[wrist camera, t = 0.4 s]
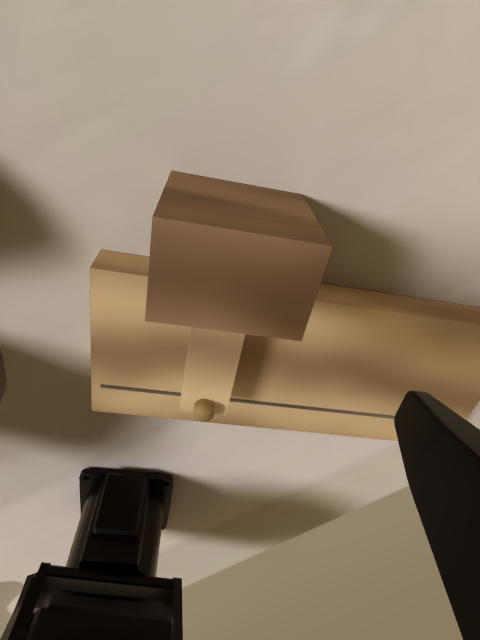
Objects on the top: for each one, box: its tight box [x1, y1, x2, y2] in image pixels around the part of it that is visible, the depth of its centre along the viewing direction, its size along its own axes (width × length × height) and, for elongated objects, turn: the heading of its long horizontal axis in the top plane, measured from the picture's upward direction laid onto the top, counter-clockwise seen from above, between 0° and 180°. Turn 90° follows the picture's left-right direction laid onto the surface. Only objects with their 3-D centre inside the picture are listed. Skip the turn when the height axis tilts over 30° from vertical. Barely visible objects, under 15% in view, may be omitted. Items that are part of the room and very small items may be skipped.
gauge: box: [145, 171, 333, 422], centre depth 19 cm, size 11×6×6 cm, turn 169°
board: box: [90, 250, 480, 441], centre depth 23 cm, size 9×22×2 cm, turn 79°
